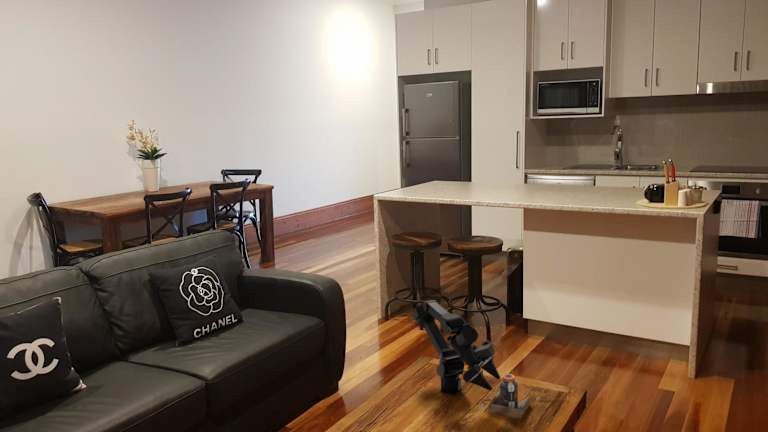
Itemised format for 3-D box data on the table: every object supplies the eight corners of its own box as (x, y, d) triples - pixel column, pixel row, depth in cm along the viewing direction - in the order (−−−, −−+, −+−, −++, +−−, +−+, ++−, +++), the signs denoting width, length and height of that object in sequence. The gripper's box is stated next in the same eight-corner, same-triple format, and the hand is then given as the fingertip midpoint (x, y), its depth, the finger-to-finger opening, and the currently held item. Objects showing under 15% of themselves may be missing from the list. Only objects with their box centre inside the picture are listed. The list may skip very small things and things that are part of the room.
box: (488, 412, 203) (488, 404, 202) (499, 398, 212) (498, 390, 212) (520, 419, 197) (520, 410, 197) (529, 404, 207) (529, 396, 206)
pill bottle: (518, 411, 202) (517, 380, 200) (500, 410, 203) (499, 379, 201) (517, 403, 207) (517, 372, 205) (500, 402, 208) (499, 372, 207)
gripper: (470, 346, 198) (503, 382, 194) (488, 327, 214) (518, 360, 211) (449, 364, 203) (480, 400, 199) (468, 344, 219) (497, 377, 216)
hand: (495, 384), depth 206 cm, fingers open, 9 cm apart
